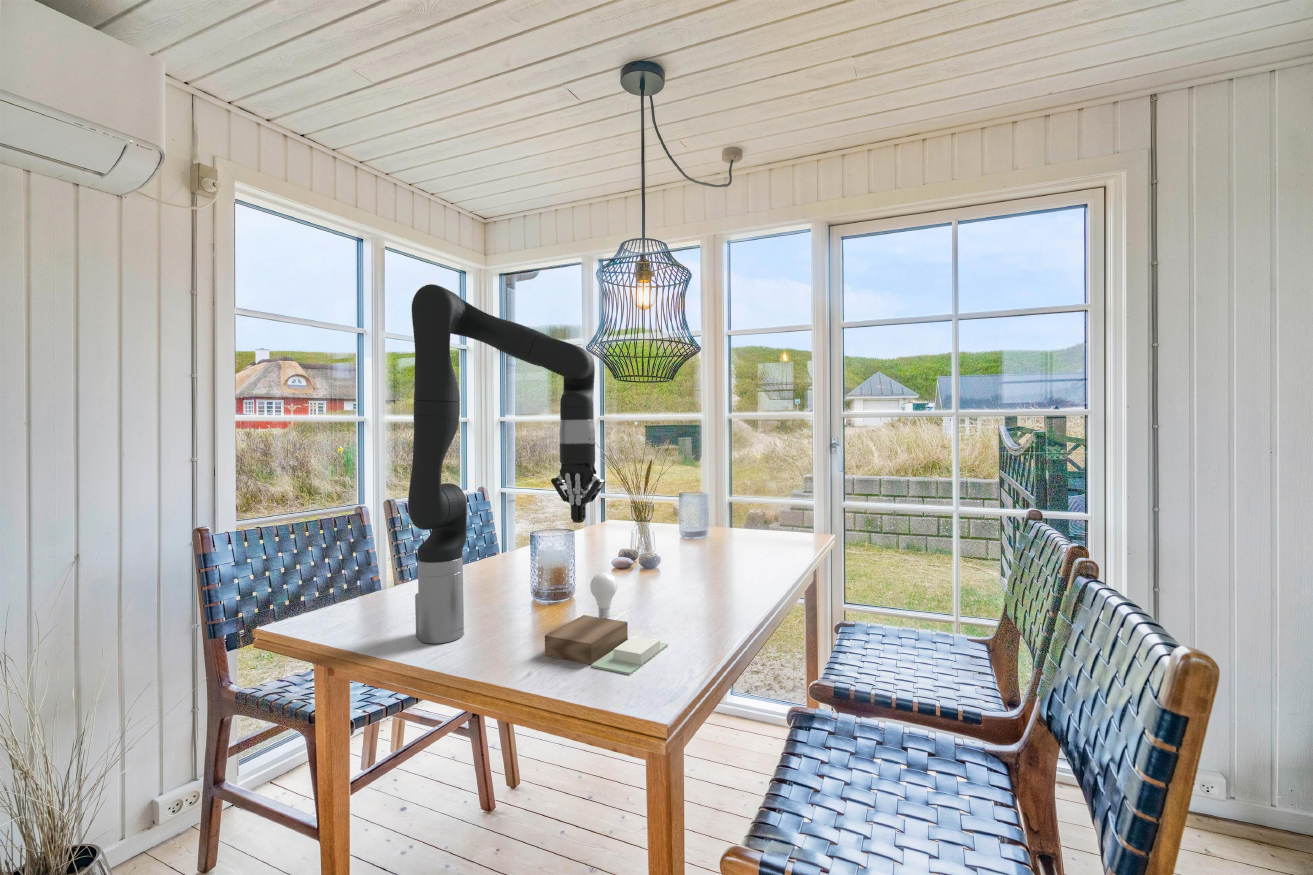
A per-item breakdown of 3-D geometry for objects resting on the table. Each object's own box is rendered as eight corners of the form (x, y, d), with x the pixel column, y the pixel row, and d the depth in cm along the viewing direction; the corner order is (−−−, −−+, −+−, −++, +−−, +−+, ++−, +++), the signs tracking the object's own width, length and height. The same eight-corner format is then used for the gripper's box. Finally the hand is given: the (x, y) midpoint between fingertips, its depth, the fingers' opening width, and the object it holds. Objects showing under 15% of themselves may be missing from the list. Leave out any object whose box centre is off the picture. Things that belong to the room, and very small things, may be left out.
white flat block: (641, 653, 114) (641, 664, 114) (659, 640, 121) (659, 649, 121) (613, 648, 117) (613, 659, 117) (633, 635, 124) (633, 645, 124)
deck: (545, 655, 120) (544, 635, 120) (584, 632, 133) (583, 614, 132) (591, 664, 115) (591, 643, 115) (627, 640, 128) (627, 621, 128)
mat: (590, 666, 114) (590, 664, 114) (632, 639, 128) (632, 637, 128) (630, 674, 110) (630, 672, 110) (668, 645, 124) (668, 643, 124)
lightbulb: (623, 618, 142) (622, 572, 142) (603, 625, 137) (602, 577, 137) (605, 613, 146) (604, 568, 146) (585, 619, 142) (584, 572, 142)
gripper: (541, 441, 128) (542, 523, 128) (594, 442, 122) (595, 527, 123) (562, 440, 135) (563, 517, 135) (613, 440, 129) (614, 521, 129)
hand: (578, 522), depth 129 cm, fingers closed
